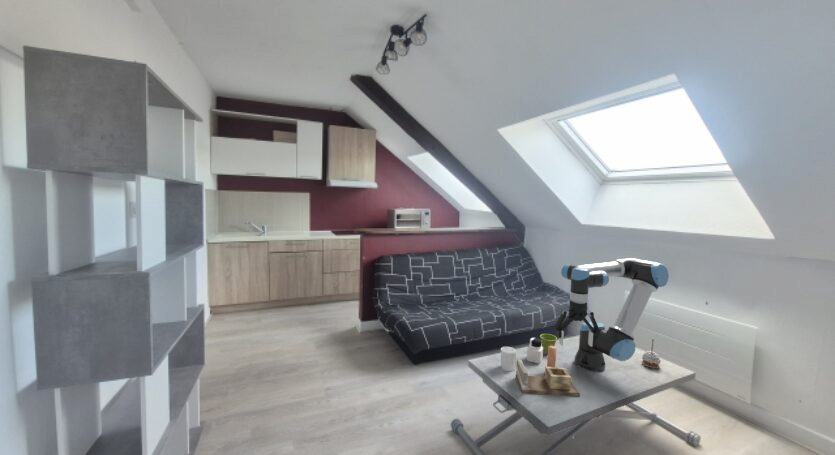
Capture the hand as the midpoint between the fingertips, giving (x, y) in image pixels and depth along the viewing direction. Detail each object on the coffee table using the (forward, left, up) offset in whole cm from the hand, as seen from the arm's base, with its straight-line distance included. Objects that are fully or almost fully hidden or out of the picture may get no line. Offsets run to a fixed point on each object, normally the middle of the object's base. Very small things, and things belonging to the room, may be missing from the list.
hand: (575, 344), depth 161 cm
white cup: (+28, -15, -21) cm, 38 cm away
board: (+13, +1, -21) cm, 25 cm away
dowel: (+6, -14, -21) cm, 26 cm away
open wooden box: (+8, +1, -19) cm, 21 cm away
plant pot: (0, -38, -21) cm, 43 cm away
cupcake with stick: (-52, -27, -21) cm, 62 cm away
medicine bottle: (+11, -26, -21) cm, 35 cm away
